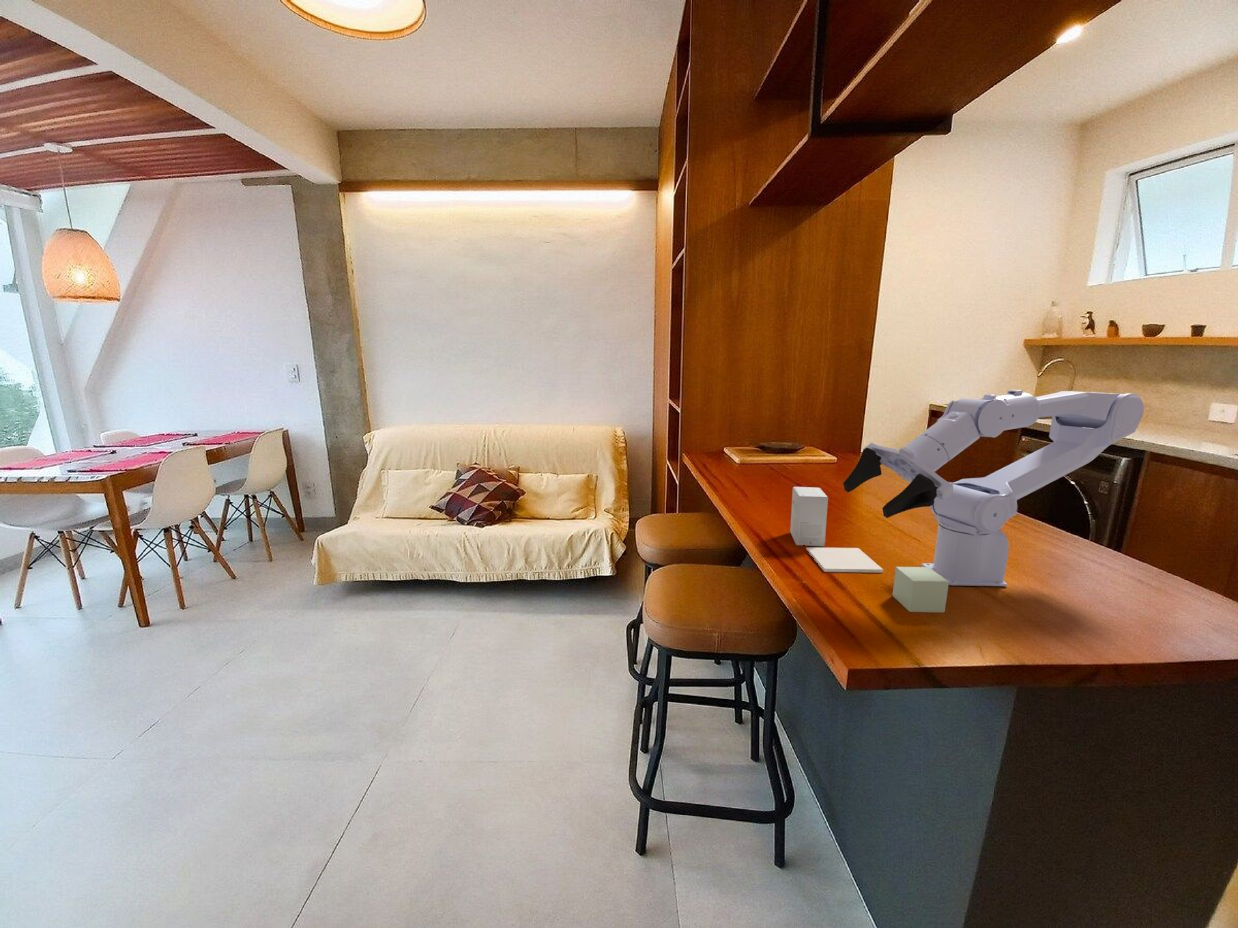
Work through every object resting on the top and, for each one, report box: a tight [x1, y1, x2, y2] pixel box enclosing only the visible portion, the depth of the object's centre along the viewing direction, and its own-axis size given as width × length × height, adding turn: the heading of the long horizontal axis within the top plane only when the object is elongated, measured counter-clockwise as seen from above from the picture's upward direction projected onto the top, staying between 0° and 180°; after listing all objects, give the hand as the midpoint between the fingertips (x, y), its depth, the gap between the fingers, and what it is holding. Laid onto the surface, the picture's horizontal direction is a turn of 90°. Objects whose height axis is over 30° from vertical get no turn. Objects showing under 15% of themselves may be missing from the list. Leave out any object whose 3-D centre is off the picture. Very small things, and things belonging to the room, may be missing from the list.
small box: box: [789, 486, 829, 547], centre depth 98 cm, size 8×6×10 cm
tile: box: [805, 546, 884, 574], centre depth 88 cm, size 10×10×1 cm
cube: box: [892, 566, 950, 613], centre depth 72 cm, size 5×5×5 cm
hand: (864, 499), depth 74 cm, fingers open, 7 cm apart
